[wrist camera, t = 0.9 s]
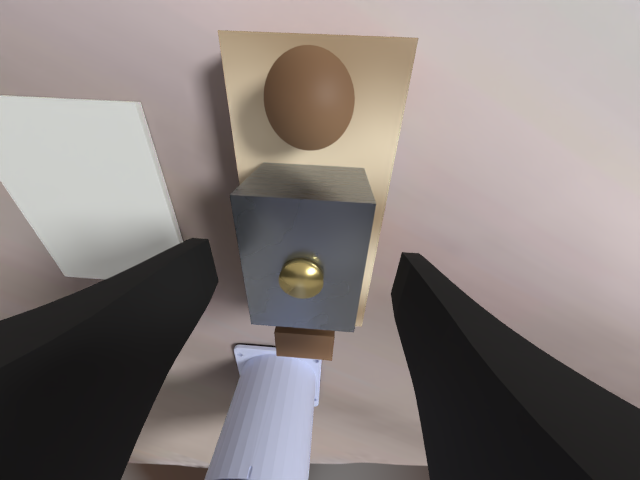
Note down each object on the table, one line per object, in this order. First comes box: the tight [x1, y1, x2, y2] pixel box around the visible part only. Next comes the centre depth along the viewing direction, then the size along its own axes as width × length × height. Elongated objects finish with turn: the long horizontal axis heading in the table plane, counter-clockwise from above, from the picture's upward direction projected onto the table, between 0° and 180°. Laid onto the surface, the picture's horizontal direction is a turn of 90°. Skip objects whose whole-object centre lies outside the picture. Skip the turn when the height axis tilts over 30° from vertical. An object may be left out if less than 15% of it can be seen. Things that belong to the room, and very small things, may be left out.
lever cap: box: [230, 162, 376, 332], centre depth 10 cm, size 6×4×4 cm
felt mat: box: [0, 95, 183, 279], centre depth 15 cm, size 12×10×1 cm
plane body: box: [218, 30, 418, 361], centre depth 12 cm, size 15×7×6 cm, turn 178°
